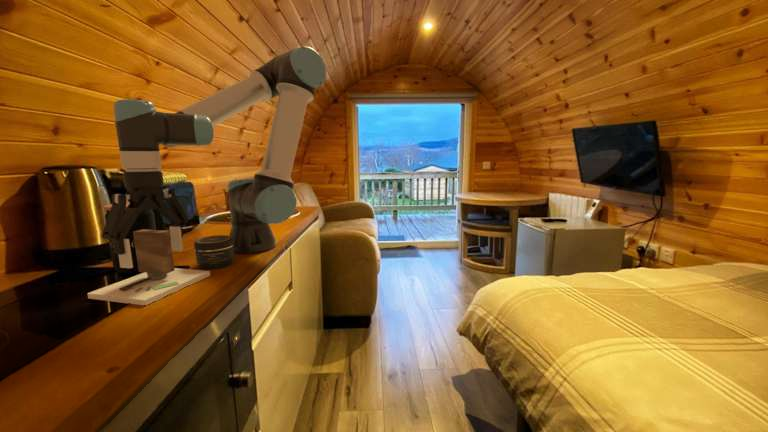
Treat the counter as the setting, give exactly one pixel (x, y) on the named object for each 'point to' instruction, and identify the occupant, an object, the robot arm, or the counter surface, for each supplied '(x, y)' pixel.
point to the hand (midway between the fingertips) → (154, 258)
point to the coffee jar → (131, 237)
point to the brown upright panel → (153, 254)
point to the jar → (214, 251)
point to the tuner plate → (148, 287)
